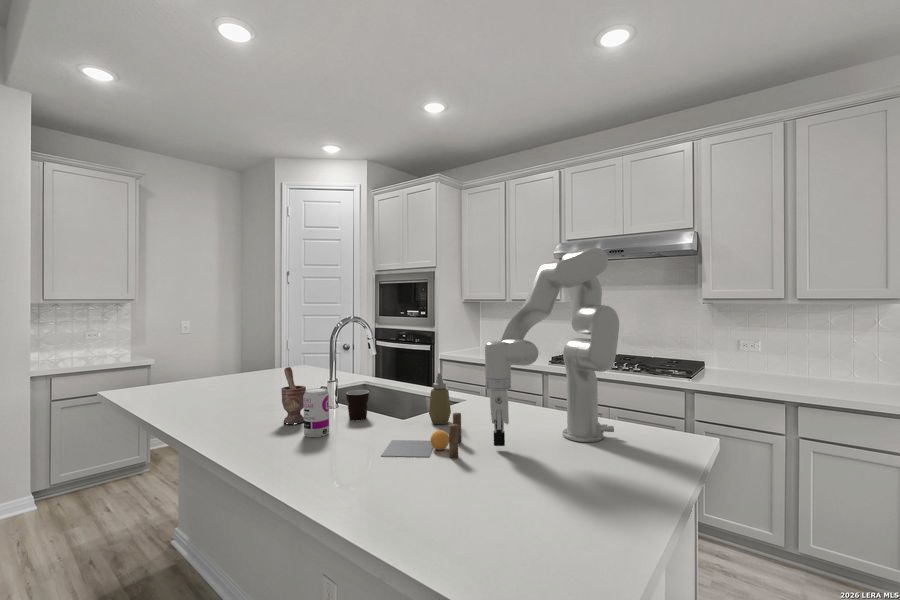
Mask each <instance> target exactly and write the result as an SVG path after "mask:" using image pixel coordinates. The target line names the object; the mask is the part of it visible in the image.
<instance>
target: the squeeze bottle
mask: <svg viewBox="0 0 900 600" xmlns="http://www.w3.org/2000/svg"><path fill="white" fill-rule="evenodd" d="M428 409H429V410H428V414H429V418H430V421H431V423H432V424H435V425H445V424H448V423H449V420H450V416H451V413H452V410H451V409H452V408H451V403H450V392H449V389H448V388H447V383H446V382H444V380H443V376H442V373H441V372H439V373H438V372H437V376H436V380H435V382H434V383H433V384H432V389H431V390H430V395H429V408H428Z"/></svg>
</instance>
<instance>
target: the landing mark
mask: <svg viewBox="0 0 900 600" xmlns="http://www.w3.org/2000/svg"><path fill="white" fill-rule="evenodd" d="M433 449H434V447H433V446H432V444H431V440H421V439H420V440H419V439H418V440H415V439H414V440H410V439H407V440H406V439H392V440H391V441H390V442H389V443H388V445H387V447H386V448H385V449H384V451H383V452H382V453H381V455H380V457H385V456H392V458H393V456H394V457H395V458H398V457H399V458H400V457H401V458H403V457H404V458H411V457H412V458H430V456H431V453H432V450H433Z"/></svg>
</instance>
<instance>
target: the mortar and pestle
mask: <svg viewBox="0 0 900 600" xmlns="http://www.w3.org/2000/svg"><path fill="white" fill-rule="evenodd" d="M283 371H284V376H285V379H286V381H287V384H288V386H284V387H281V403H282V406H283V409H284V411H285V412H286V413H287V416H286V417H284V420H283V424H284V423H288V424H294V423H300V422H303V421H304V415H302V413H301V411H302V410H304V408H303V396H304V394H305V391H306V390H307V387H306V386H305V385H295V381H294V375H293V374H294V373H293V369H292V367H290V366H287V367H284V370H283ZM303 423H304V422H303ZM300 424H301V423H300Z"/></svg>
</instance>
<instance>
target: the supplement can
mask: <svg viewBox="0 0 900 600" xmlns="http://www.w3.org/2000/svg"><path fill="white" fill-rule="evenodd" d="M329 396H330V394H329V391H328V390H327V388H323V387H321V388H320V387H319V388H310V389H306V391H305V394H304V396H303V417H304V422H303V435H304V436H305V437H306V436H307V437H306V438H308V437H319V438H321V437H320V436H323V437H325V436H324V435H326V434H327V435H329V433H330V397H329ZM327 435H326V436H327Z"/></svg>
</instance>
